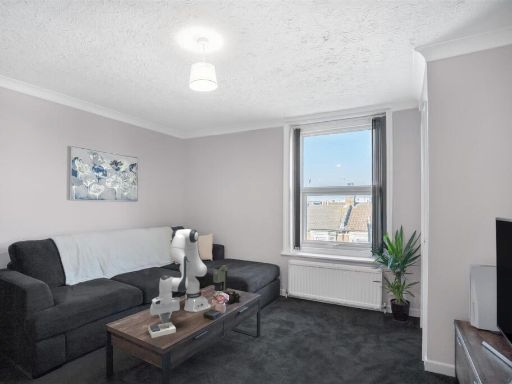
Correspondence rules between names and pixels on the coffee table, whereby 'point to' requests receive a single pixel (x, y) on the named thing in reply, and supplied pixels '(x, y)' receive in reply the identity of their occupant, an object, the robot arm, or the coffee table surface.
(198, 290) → the robot arm
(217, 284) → the device
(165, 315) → the rocker switch
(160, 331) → the switch plate
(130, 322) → the coffee table surface
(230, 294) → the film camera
